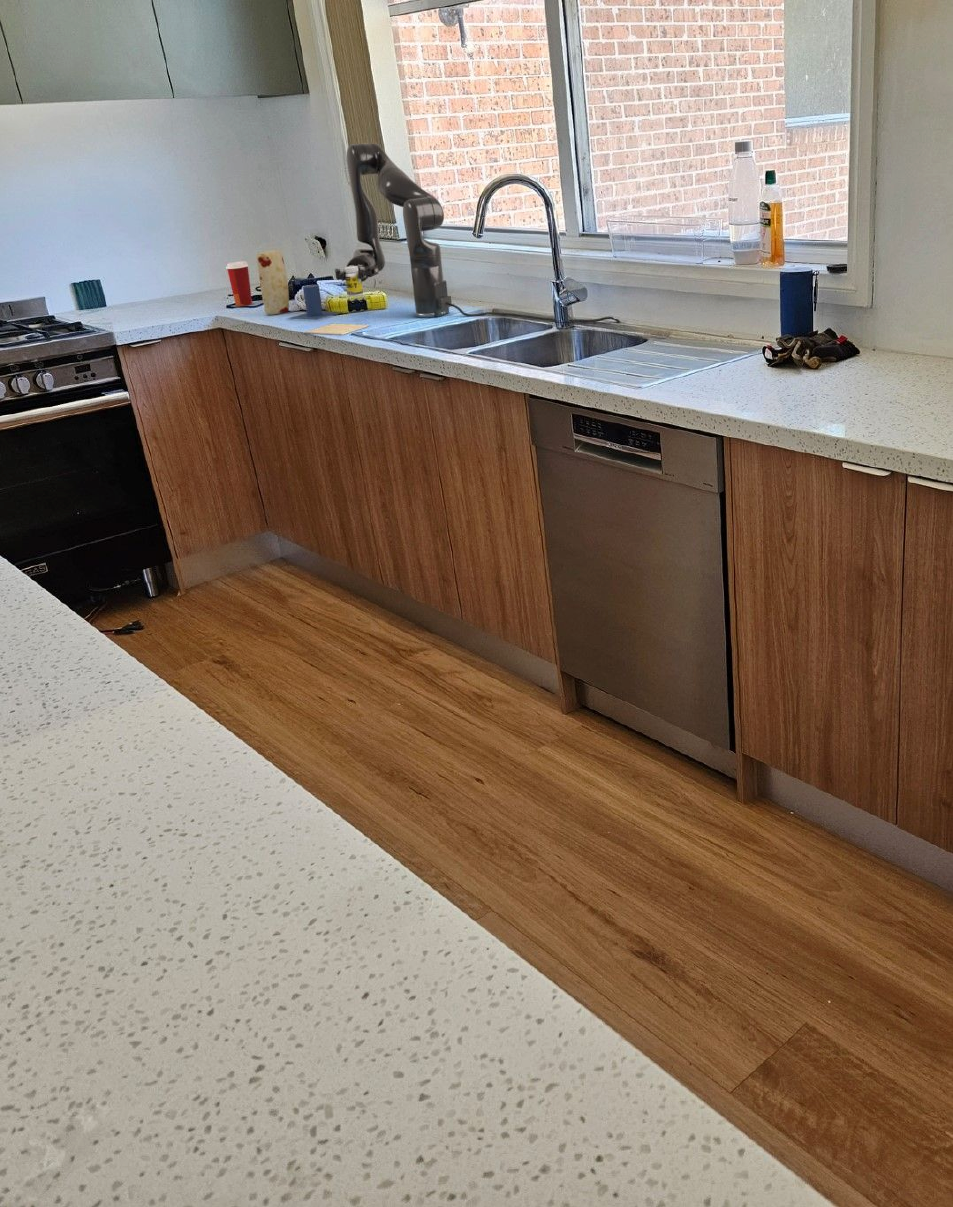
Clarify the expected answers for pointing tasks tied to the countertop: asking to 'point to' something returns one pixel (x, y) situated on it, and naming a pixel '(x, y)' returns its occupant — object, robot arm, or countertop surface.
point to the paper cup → (240, 282)
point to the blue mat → (325, 314)
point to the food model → (273, 282)
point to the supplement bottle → (353, 281)
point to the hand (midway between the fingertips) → (351, 276)
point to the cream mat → (337, 329)
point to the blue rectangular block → (312, 300)
